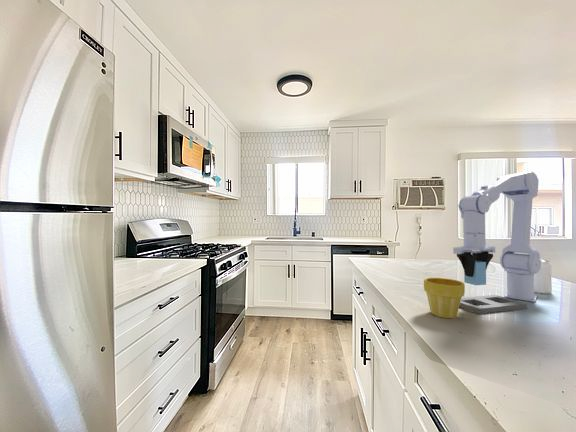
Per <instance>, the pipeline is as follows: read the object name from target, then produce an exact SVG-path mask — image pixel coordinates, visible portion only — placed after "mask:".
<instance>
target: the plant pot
mask: <svg viewBox="0 0 576 432" xmlns="http://www.w3.org/2000/svg"><path fill="white" fill-rule="evenodd" d="M423 289H424V291H425V292H426V297H427V301H428V305H429V309H430V310H429V311H430V313H431V314H432V315H434V316H435V317H439V318H445V319H455V318H457V317H458V313H459V309H460V307H459V305H460V301H461V298H463V297H464V296H465V291H466V290H465V289H466V288H465V282H464V281H463V282H462V281H460V280H457V279H451V278H444V277H426V278H424V279H423Z"/></svg>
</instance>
